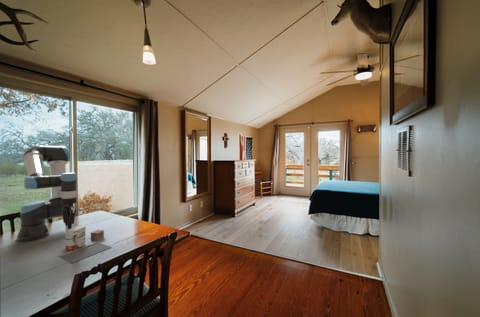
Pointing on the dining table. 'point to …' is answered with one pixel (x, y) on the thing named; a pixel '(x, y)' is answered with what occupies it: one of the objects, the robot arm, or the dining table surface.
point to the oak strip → (79, 248)
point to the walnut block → (97, 235)
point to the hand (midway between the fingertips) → (68, 234)
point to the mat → (84, 252)
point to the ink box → (75, 238)
